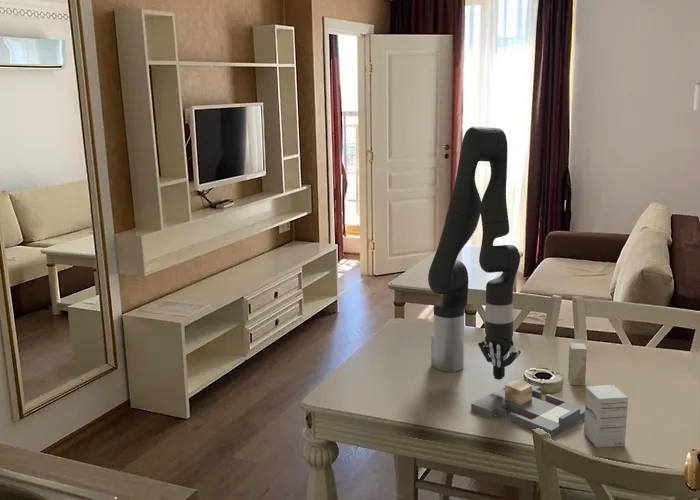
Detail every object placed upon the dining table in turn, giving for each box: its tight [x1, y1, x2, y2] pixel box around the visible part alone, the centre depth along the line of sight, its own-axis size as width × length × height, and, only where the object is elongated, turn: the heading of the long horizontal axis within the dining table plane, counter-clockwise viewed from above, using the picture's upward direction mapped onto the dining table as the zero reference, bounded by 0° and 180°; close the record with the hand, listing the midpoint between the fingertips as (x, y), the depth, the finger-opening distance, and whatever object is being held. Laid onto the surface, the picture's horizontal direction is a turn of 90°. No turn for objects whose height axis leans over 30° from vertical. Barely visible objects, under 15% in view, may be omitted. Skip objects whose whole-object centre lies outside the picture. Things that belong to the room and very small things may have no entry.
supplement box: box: [583, 384, 629, 448], centre depth 166 cm, size 7×7×13 cm
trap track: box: [470, 379, 585, 438], centre depth 182 cm, size 23×22×4 cm
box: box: [567, 342, 588, 386], centre depth 199 cm, size 5×4×11 cm
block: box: [504, 379, 532, 405], centre depth 185 cm, size 5×5×4 cm
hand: (498, 378), depth 190 cm, fingers closed
